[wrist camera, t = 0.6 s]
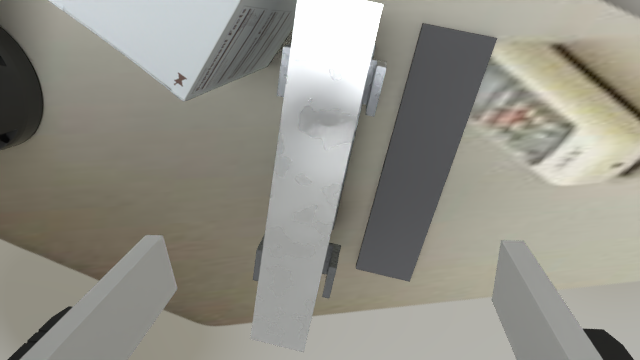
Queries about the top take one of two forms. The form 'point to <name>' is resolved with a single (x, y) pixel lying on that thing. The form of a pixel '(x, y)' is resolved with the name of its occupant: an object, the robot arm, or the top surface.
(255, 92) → the top surface
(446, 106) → the mat
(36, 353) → the robot arm
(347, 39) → the rail
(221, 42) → the supplement box
